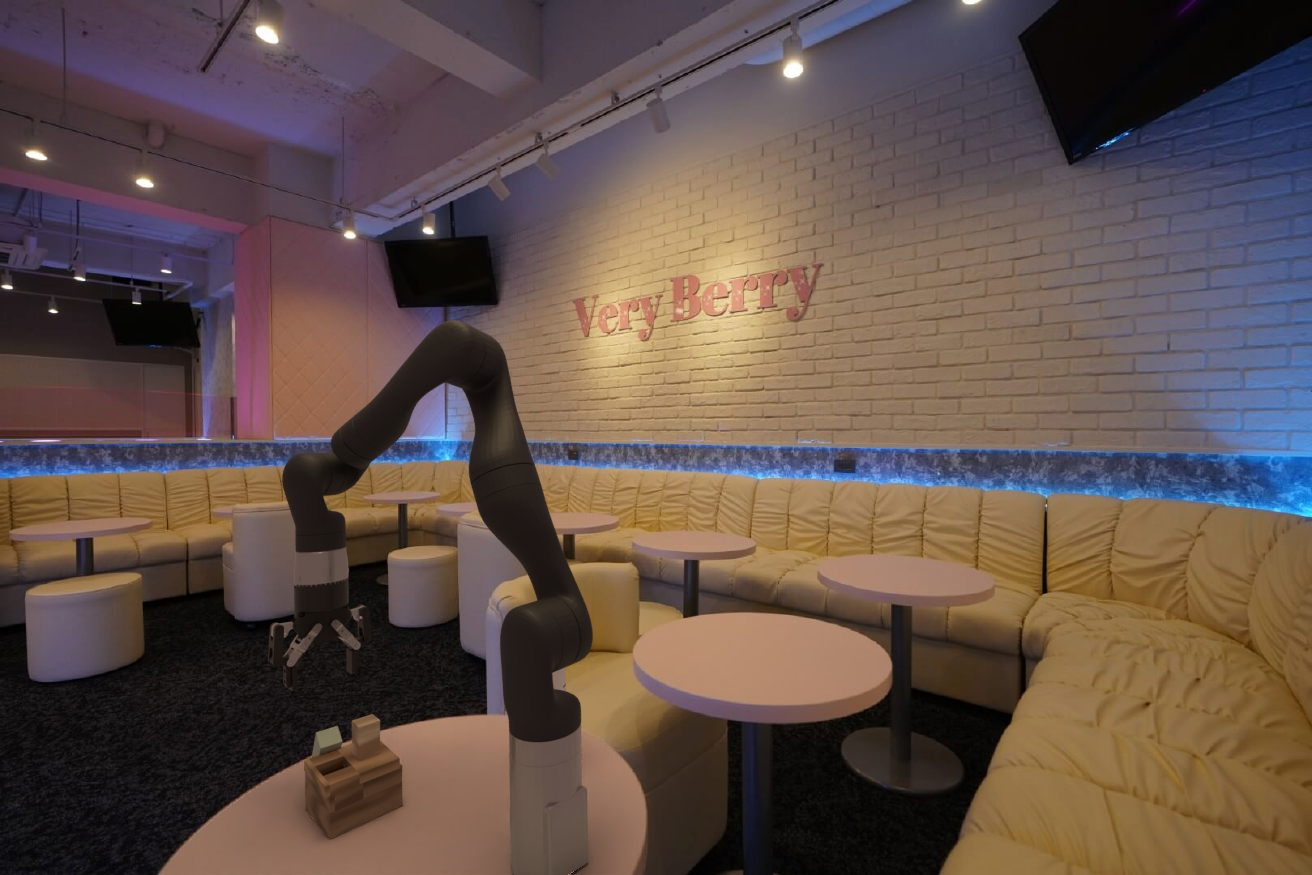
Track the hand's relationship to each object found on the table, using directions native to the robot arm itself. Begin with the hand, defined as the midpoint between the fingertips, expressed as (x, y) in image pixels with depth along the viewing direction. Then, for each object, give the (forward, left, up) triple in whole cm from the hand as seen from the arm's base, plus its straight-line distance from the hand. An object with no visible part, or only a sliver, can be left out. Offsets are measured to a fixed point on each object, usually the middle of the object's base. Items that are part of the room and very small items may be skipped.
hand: (322, 680), depth 92 cm
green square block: (-4, 0, -8) cm, 8 cm away
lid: (-9, -1, -11) cm, 14 cm away
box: (-9, -1, -17) cm, 19 cm away
